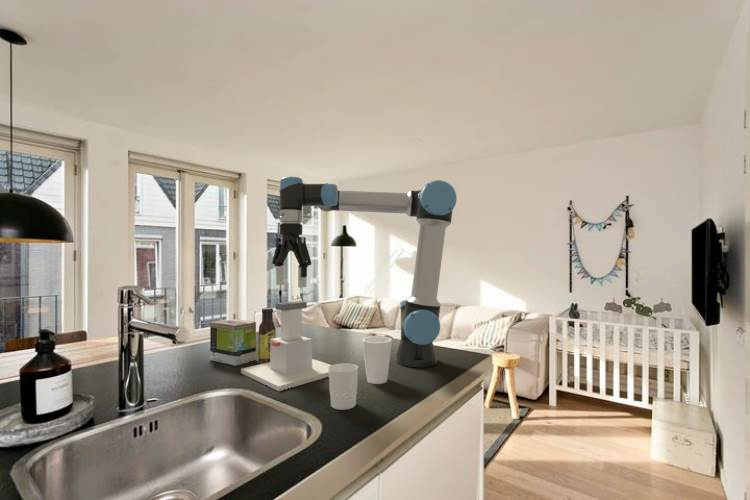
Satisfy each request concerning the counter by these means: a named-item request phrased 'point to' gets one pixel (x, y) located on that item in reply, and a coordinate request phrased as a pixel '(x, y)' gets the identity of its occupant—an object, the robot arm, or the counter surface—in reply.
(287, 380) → the post stand
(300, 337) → the post
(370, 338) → the foam cup
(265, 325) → the sauce bottle
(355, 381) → the white cup
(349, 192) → the robot arm
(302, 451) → the counter surface
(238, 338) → the tea box
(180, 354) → the counter surface
